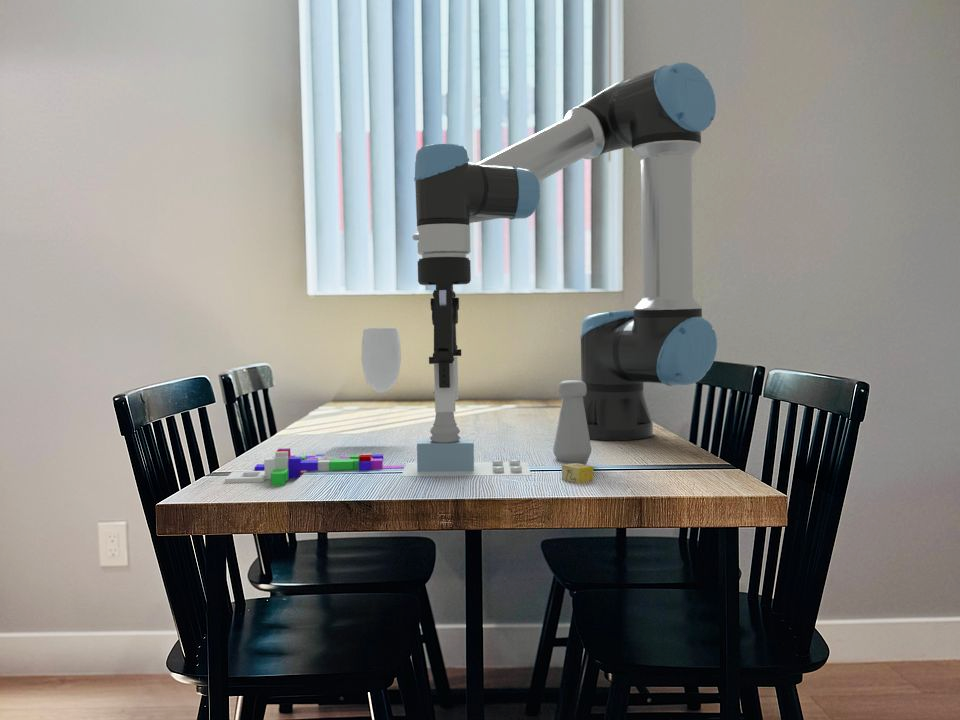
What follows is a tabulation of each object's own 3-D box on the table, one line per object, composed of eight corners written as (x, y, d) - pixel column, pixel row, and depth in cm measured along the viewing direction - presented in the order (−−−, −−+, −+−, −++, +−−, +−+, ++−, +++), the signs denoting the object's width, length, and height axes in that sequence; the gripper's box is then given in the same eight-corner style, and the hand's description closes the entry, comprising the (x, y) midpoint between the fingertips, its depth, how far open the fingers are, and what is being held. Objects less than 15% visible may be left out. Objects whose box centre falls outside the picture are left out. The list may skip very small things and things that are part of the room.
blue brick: (473, 465, 118) (473, 438, 117) (473, 471, 114) (473, 443, 113) (419, 466, 118) (419, 439, 117) (417, 471, 114) (416, 443, 113)
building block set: (403, 459, 132) (402, 432, 132) (405, 486, 112) (404, 454, 112) (248, 463, 130) (247, 435, 129) (220, 491, 109) (220, 458, 109)
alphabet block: (576, 484, 110) (576, 462, 110) (593, 487, 107) (593, 465, 107) (561, 487, 108) (561, 464, 108) (578, 491, 105) (578, 468, 105)
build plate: (527, 468, 121) (527, 457, 121) (531, 482, 111) (531, 470, 111) (407, 469, 121) (407, 458, 121) (401, 483, 111) (400, 471, 111)
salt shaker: (578, 470, 119) (578, 382, 118) (546, 466, 122) (545, 381, 121) (598, 464, 123) (598, 380, 122) (566, 460, 127) (565, 378, 126)
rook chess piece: (459, 443, 113) (459, 387, 113) (428, 443, 113) (427, 387, 113) (461, 438, 118) (460, 384, 117) (430, 438, 118) (430, 384, 117)
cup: (366, 438, 150) (364, 327, 149) (404, 438, 150) (403, 327, 149) (359, 444, 143) (357, 328, 142) (399, 444, 143) (397, 328, 142)
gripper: (423, 262, 126) (427, 395, 128) (409, 251, 101) (414, 418, 103) (471, 260, 126) (474, 394, 128) (468, 250, 101) (472, 416, 103)
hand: (447, 405), depth 115 cm, fingers open, 13 cm apart
